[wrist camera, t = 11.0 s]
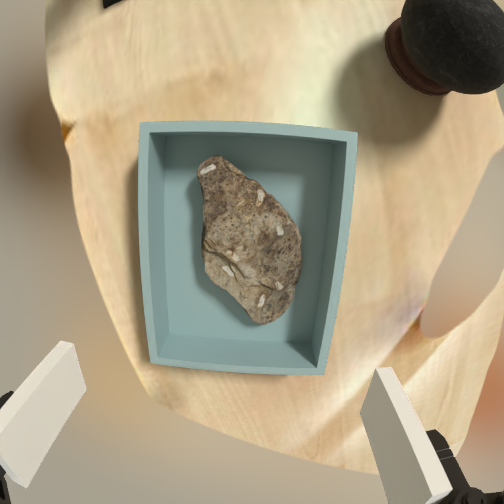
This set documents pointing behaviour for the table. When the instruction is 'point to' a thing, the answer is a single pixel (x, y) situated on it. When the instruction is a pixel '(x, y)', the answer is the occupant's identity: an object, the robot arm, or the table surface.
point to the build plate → (109, 2)
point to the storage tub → (189, 238)
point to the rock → (248, 241)
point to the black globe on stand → (448, 46)
